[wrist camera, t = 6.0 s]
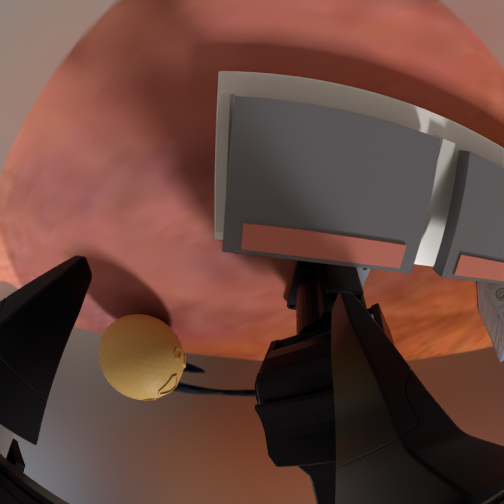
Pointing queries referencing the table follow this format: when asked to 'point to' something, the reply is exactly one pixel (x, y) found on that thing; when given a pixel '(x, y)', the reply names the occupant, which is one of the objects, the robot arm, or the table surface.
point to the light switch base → (362, 103)
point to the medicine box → (492, 313)
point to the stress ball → (141, 357)
